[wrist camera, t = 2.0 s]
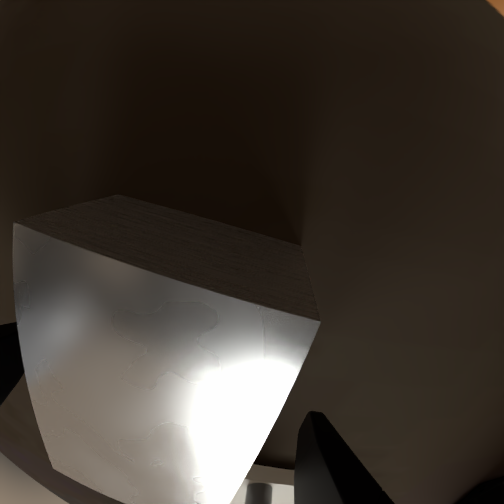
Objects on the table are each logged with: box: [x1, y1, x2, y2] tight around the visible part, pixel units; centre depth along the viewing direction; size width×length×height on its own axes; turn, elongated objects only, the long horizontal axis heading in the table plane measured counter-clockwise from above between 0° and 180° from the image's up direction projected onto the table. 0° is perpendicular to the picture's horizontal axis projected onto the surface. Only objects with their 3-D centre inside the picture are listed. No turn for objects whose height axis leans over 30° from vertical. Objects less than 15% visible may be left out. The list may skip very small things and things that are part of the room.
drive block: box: [13, 195, 321, 504], centre depth 8 cm, size 6×9×5 cm, turn 164°
